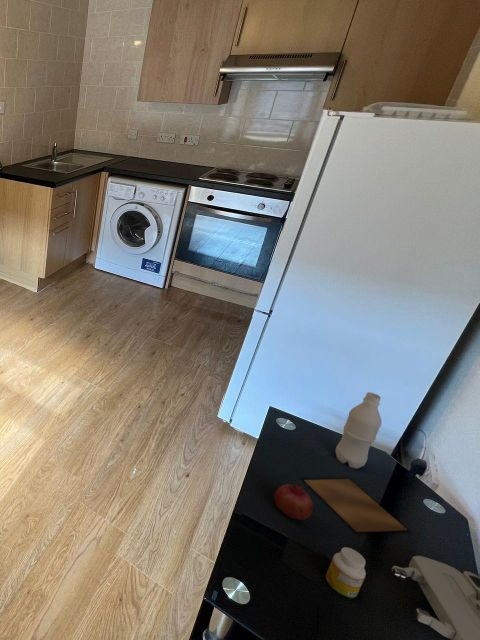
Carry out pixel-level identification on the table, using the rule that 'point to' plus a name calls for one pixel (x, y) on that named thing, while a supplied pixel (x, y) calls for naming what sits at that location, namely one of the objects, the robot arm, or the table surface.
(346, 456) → the water bottle
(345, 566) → the supplement bottle
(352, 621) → the table surface
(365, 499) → the cork mat
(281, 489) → the fruit
